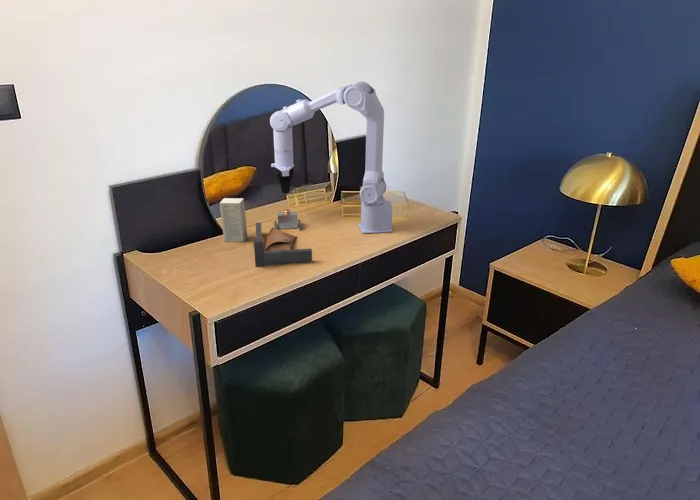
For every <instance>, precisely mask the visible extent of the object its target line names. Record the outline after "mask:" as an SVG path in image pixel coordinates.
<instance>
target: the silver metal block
mask: <svg viewBox="0 0 700 500" xmlns="http://www.w3.org/2000/svg"><path fill="white" fill-rule="evenodd" d="M298 220H299V219H298V212H297V211H291V210H290V209H285V210H284V211H282V212H281V211H280V212H278V211H277V230H279V229H297V228H298V229H299V225H298Z"/></svg>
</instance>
